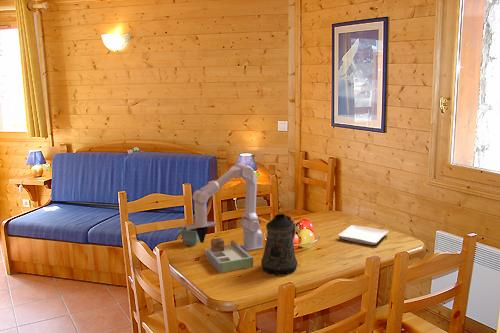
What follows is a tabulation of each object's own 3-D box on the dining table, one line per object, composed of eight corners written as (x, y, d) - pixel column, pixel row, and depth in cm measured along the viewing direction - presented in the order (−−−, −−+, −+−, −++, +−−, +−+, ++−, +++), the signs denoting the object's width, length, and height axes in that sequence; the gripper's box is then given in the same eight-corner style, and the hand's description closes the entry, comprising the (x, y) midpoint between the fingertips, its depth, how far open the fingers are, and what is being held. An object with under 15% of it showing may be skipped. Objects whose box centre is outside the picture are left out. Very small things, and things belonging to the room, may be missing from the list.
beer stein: (259, 275, 217) (258, 221, 212) (264, 258, 235) (263, 208, 230) (296, 276, 214) (296, 222, 209) (298, 259, 233) (298, 209, 228)
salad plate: (389, 236, 264) (389, 230, 263) (376, 248, 247) (376, 242, 246) (351, 229, 275) (351, 224, 275) (337, 241, 258) (337, 235, 257)
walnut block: (220, 247, 244) (220, 237, 243) (224, 250, 239) (223, 241, 238) (211, 248, 242) (210, 239, 241) (214, 252, 237) (214, 242, 236)
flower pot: (197, 247, 251) (196, 231, 249) (180, 246, 253) (180, 230, 251) (202, 241, 260) (201, 225, 258) (186, 240, 261) (185, 224, 260)
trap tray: (233, 248, 249) (232, 240, 248) (253, 266, 226) (252, 257, 225) (202, 254, 242) (202, 245, 241) (219, 272, 219) (219, 263, 219)
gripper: (212, 211, 240) (213, 237, 243) (183, 214, 235) (185, 241, 237) (217, 214, 234) (218, 241, 237) (188, 218, 228) (189, 246, 231)
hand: (201, 242), depth 236 cm, fingers closed
